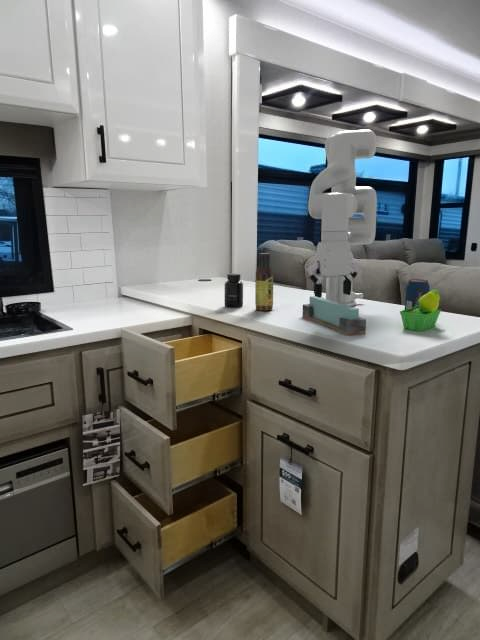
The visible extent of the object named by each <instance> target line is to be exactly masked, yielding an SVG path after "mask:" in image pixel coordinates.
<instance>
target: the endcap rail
mask: <svg viewBox="0 0 480 640" xmlns="http://www.w3.org/2000/svg"><path fill="white" fill-rule="evenodd" d="M309 305H310V303H307V304H302V318H305V319H307V320H309V321H312V322H314V323H316V324H319V325H322V326H324V327H326V328H328V329H331V330H333V331H335V332H338V333H341V334H343V335H345V336H359V335H365V334H366V332H367V331H366V330H367V319H365V318H364V317H363V318H362V317H359V316H358V319H357V320H348V319H345V318H340V320H339V326H336V325H334V324H331V323H329V322H326V321H324V320H321V319H319V318H316V317H314V316H312V307H311V306H309Z"/></svg>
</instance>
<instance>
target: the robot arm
mask: <svg viewBox="0 0 480 640" xmlns="http://www.w3.org/2000/svg"><path fill="white" fill-rule="evenodd" d="M324 151H325V156H326V160H327V165H326V166H327V167H325V168H324V169H323V170H321V172H319V174H318V175H317V176H316V177H315V178H314V179H313V180H312V183H311V186H310V190H309V197H308V206H307V208H308V210H307V211H308V213H309V215H310V217H312V219H317V220H321V231H320V232H321V233H320V234H321V236H320V238H321V241H320V242H318V243H317V247H316V252H315V260H314V263H313V264H312V265H310V266H309V267H307V268H306V269H305V272H306V273H307V275H308V279H310V280H311V282H312V283H313V293H314V296H316V297H319V298H323V285H322V282H323V280H324V278H326V279H325V280H326V284H325V288H326V289H325V299H328V300H331V301H334V302H338V303H341V304H344V305H347V306H351V307H354V306H355V305H357V301H356V299H363V298H364V293H363V292H360V293H359V292H358V293H356V292H355V291H353V281H354V279H355V278H356V276H357V275H358V273H359V271H360V268H361V266H360V265H359V264H357V263H356V262H355V261H354V255H353V252H352V251H351V249H352V248H351V245H370V244H372V243H373V242H374V241H375V238H376V229H377V205H378V204H377V203H378V200H377V199H378V198H377V192H376V190H375V189H374V187H372V186H357V185H356V183H357V172H356V170H355V168H356V167H355V166H356V160H363V159H372V158H373V157H375V154H376V151H377V136H376V133H375V132H374V131H373V130H371V129H358V130H356V129H355V130H354V129H353V130H344V131H343V130H342V131H338V132H337V133H335V134H333V135H330V136H328V137H327V138H326V140H325V143H324ZM330 188H331V192H325V191H326V190H328V189H330ZM354 215H361V216H362V217H354ZM314 274H315V275H314Z"/></svg>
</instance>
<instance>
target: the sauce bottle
mask: <svg viewBox="0 0 480 640" xmlns="http://www.w3.org/2000/svg"><path fill="white" fill-rule="evenodd" d="M270 259H271V253H269V252H259V253H258V268H257V269H256V271H255V287H254V288H255V289H254V290H255V293H254V294H255V297H254V298H255V302H254V303H255V310H256V311H258V312H259V311H261V312H267V311H272V310H273V307H274V275H273V274H274V273H273V271H272V268H271V260H270Z"/></svg>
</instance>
